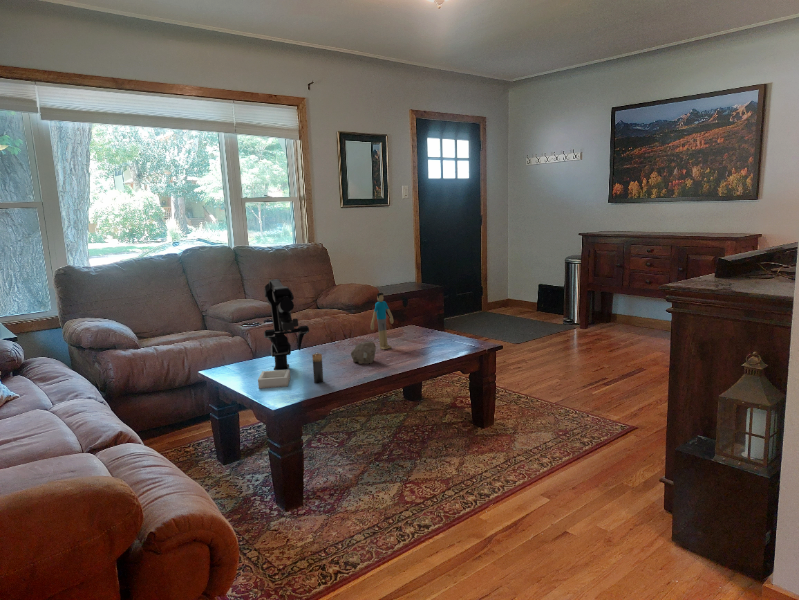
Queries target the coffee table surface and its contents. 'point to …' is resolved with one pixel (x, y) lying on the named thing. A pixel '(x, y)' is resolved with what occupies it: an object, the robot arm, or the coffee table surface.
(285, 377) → the bin
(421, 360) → the coffee table surface
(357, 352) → the rock
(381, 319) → the figurine
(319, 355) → the cell
